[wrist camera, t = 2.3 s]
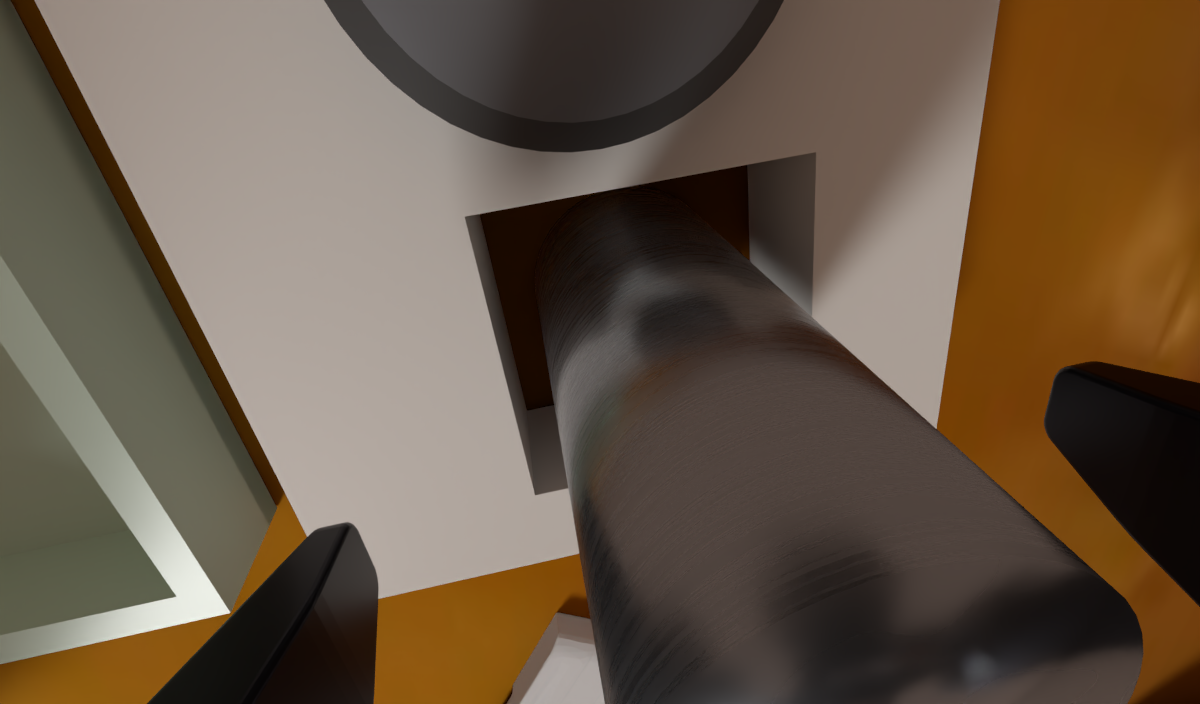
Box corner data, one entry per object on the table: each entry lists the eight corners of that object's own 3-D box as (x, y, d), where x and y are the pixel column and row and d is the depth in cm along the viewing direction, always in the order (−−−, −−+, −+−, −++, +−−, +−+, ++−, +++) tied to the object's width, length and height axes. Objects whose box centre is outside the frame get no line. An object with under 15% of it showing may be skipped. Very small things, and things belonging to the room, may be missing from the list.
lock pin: (552, 376, 14) (653, 937, 5) (516, 205, 12) (582, 648, 4) (720, 342, 14) (1072, 823, 6) (711, 170, 13) (1221, 497, 4)
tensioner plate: (368, 505, 15) (312, 725, 10) (34, -274, 8) (-565, -670, 4) (857, 400, 16) (1011, 558, 11) (911, -380, 9) (1359, -815, 4)
